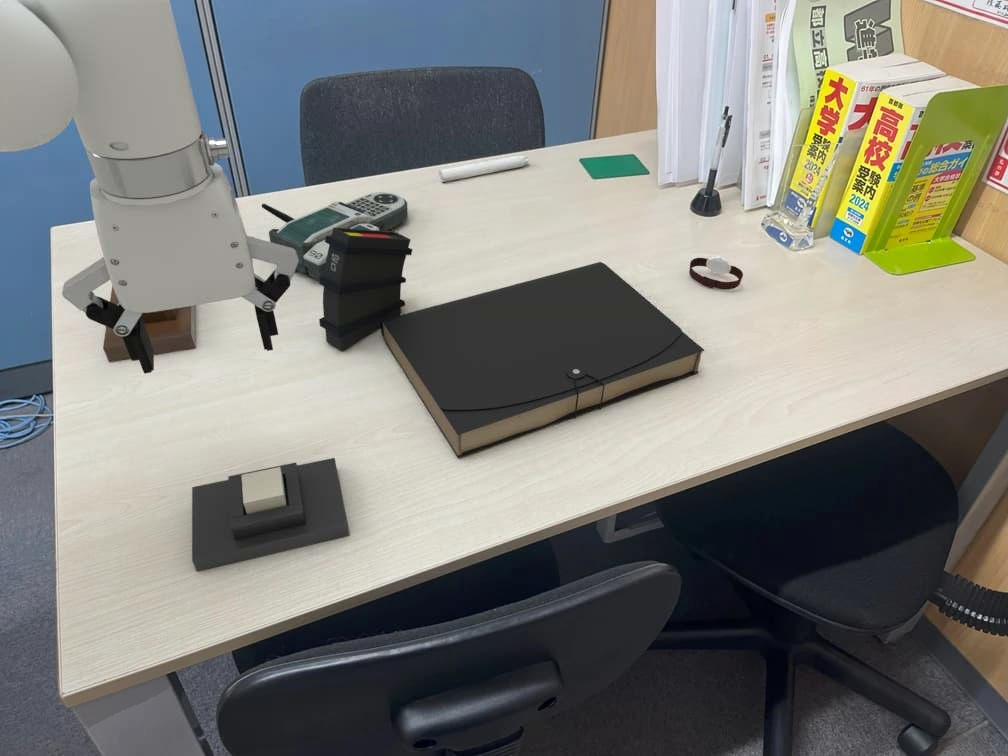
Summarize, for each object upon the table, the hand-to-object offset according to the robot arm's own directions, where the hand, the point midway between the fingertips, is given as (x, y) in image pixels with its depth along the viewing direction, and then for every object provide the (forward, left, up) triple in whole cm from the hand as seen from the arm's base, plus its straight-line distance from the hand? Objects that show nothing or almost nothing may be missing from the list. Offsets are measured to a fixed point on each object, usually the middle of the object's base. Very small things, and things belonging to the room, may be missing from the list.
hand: (209, 351), depth 61 cm
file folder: (+36, +12, -18) cm, 42 cm away
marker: (+45, +64, -18) cm, 80 cm away
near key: (+2, -4, -15) cm, 16 cm away
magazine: (+17, +24, -18) cm, 34 cm away
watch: (+67, +21, -18) cm, 72 cm away
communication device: (+18, +46, -18) cm, 53 cm away
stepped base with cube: (+2, -4, -18) cm, 19 cm away
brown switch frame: (-10, +32, -18) cm, 38 cm away
